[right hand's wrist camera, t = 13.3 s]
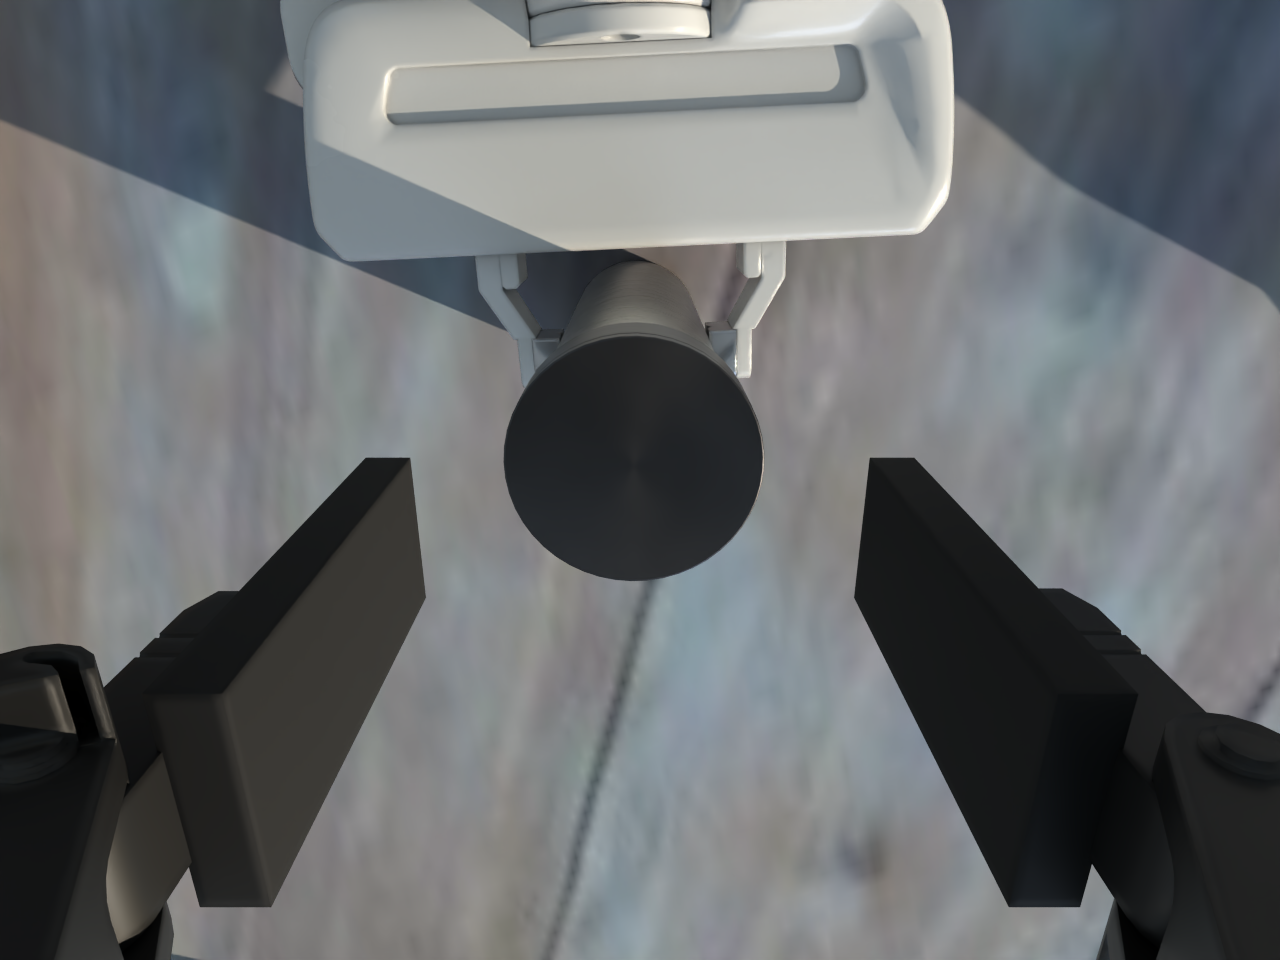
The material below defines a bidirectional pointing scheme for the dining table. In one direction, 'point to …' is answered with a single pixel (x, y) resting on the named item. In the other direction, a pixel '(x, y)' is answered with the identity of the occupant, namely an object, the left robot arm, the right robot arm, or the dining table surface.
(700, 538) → the lid
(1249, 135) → the dining table surface
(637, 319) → the silver metal canister
